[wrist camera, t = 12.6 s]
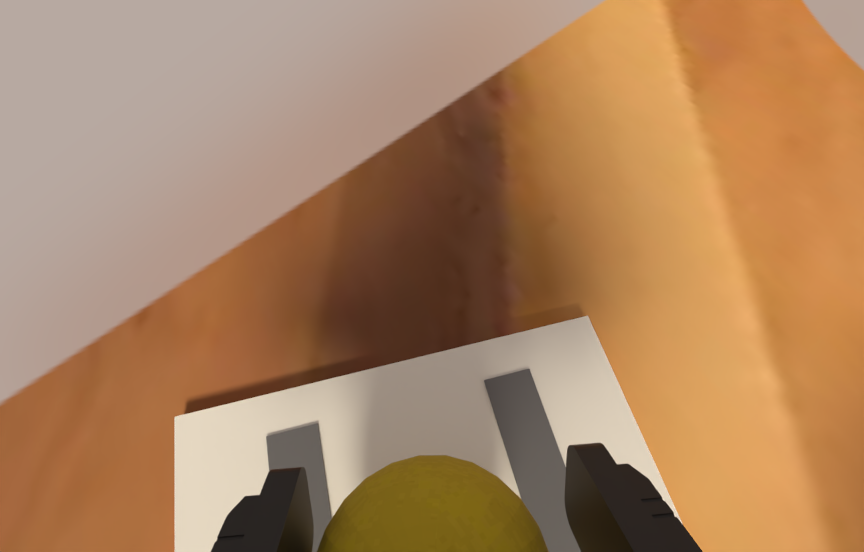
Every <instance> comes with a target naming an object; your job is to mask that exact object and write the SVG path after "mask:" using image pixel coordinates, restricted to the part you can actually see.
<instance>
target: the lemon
mask: <svg viewBox="0 0 864 552" xmlns="http://www.w3.org/2000/svg"><path fill="white" fill-rule="evenodd" d="M317 552H549V551H548V549H547V546H546V543H545V541H544V538H543V536H542V533H541V530H540V528H539V525H538V524H537V522H536V521H535V519H534V518H533V516H532V515H531V513H530V512H529V510H528V509H527V507H526V506H525V504H524V503H523V501H522V500H521V498H520V497H519V496H518V495H516V494H515V493H514V492H513V491H512V490H511V489H510V488H509V487H508V486H507V485H506V484H505V483H504V482H503V481H502V480H501V479H500V478H499V477H497V476H496V475H494V474H492V473H490V472H489V471H487V470H485V469H483V468H482V467H480V466H478V465H476V464H475V463H473V462H470V461H466V460H462V459H458V458H454V457H451V456H447V455H419V456H415V457H411V458H408V459H404V460H401V461H397V462H393V463H391V464H389V465H387V466H386V467H384V468H382V469H380V470H379V471H377V472H375V473H374V474H372V475H370V476H369V477H367V478H366V479H364V480H363V481H362V482H361V483H360V484H359V485H358V486H357V487H356V488H355V489H354V490H353V491H352V492H351V493H350V494H349V495H348V496H347V497H346V498H345V499H344V500H343V502H342V504H341V505H340V507H339V508H338V510H337V511H336V513H335V514H334V516H333V518H332V519H331V521H330V522H329V524H328V525H327V527H326V529H325V531H324V534H323V536H322V539H321V542H320V544H319V547H318V550H317Z"/></svg>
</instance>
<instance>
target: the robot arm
mask: <svg viewBox="0 0 864 552" xmlns="http://www.w3.org/2000/svg"><path fill="white" fill-rule="evenodd" d="M564 499H565V509H566V515H567V519H568V522H569V525H570V528H571V530H572V532H573V535H574V537H575V539H576V541H577V544H578V546H579V548H580V550H581V552H702V550H701V549H700V548H699V546H698V545H697V543H696V542H695V541H694V539H693V538H692V537H691V535H690V534H689V533H688V531H687V530H686V529H685V527H684V526H683V525H682V523H681V522H680V520H679V519H678V518H677V517H675V516H674V512H673V511H672V510H671V508H670V507H669V506H668V504H667V503H666V502H665V501H663V499H662V496H661V495H660V493H659V492H658V491H657V489H656V488H655V487H654V485H653V484H652V483H651V481H650V480H649V479H648V478H647V477H646V476H644V475H643V474H642V473H640V472H639V471H638V470H636V469H635V468H634V467H632V466H631V465H630V464H616V462H615V461H614V459H613V458H612V456H611V455H610V453H609V452H608V450H607V449H606V447H605V446H604V445H603V444H602V443H588V444H576V445H569V446H568V448H567V456H566V476H565V498H564ZM313 538H314V524H313V515H312V508H311V501H310V494H309V487H308V481H307V474H306V470H305V468H304V467H295V468H283V469H272V470H270V471H269V472H268V475H267V477H266V480H265V482H264V485H263V488H262V490H261V493H260V495H252V496H245V497H244V498H243V499H242V500H241V501H240V502H239V503H238V504H237V505H236V506H235V507H234V508H233V509H232V510H231V512H230V513H229V514H228V515H227V516H226V519H225V521H224V523H223V525H222V528H221V530H220V532H219V534H218V536H217V541H215V543H214V545H213V548H212V550H211V552H312V548H313Z"/></svg>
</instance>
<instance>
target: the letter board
mask: <svg viewBox="0 0 864 552" xmlns="http://www.w3.org/2000/svg"><path fill="white" fill-rule="evenodd" d="M588 443H602V444H603V445H604V446H605V447H606V449H607V450H608V452H609V453H610V455H611V456H612V458H613V459H614V461H615V462H616V464H630V465H631V466H632V467H634V468H635V469H636V470H638V471H639V472H640V473H642V474H643V475H644V476H646V477H647V478H648V479H649V480H650V481H651V483H652V484H653V485H654V487H655V488H656V489H657V491H658V492H659V493H660V495H661V496H662V499H663V501H665V502H666V503H667V504H668V506H669V507H670V508H671V510H672V511H673V512H674V516H675V517H677V518H678V519H679V520H680V522H681V519H680V517H679V515H678V513H677V511H676V508H675V506H674V504H673V502H672V500H671V497H670V495H669V493H668V491H667V489H666V486H665V484H664V482H663V480H662V478H661V475H660V473H659V471H658V469H657V467H656V464H655V462H654V460H653V458H652V456H651V453H650V451H649V449H648V447H647V445H646V442H645V440H644V438H643V436H642V434H641V431H640V429H639V427H638V425H637V423H636V420H635V418H634V416H633V414H632V412H631V409H630V407H629V405H628V403H627V401H626V398H625V396H624V394H623V392H622V390H621V387H620V385H619V383H618V381H617V379H616V376H615V374H614V372H613V370H612V368H611V365H610V363H609V361H608V359H607V357H606V354H605V352H604V350H603V348H602V346H601V343H600V341H599V339H598V337H597V335H596V332H595V330H594V328H593V326H592V324H591V321H590V319H589V317H588V316H584V317H580V318H576V319H572V320H568V321H564V322H560V323H556V324H551V325H547V326H543V327H539V328H535V329H531V330H527V331H523V332H519V333H515V334H511V335H507V336H502V337H498V338H494V339H490V340H486V341H482V342H478V343H474V344H470V345H466V346H462V347H458V348H454V349H449V350H445V351H441V352H437V353H433V354H429V355H425V356H421V357H417V358H413V359H409V360H405V361H400V362H396V363H392V364H388V365H384V366H380V367H376V368H372V369H368V370H364V371H360V372H356V373H351V374H347V375H343V376H339V377H335V378H331V379H327V380H323V381H319V382H315V383H311V384H307V385H303V386H298V387H294V388H290V389H286V390H282V391H278V392H274V393H270V394H266V395H262V396H258V397H254V398H249V399H245V400H241V401H237V402H233V403H229V404H225V405H221V406H217V407H213V408H209V409H205V410H200V411H196V412H192V413H188V414H184V415H180V416H176V417H175V552H211V550H212V548H213V545H214V543H215V541H217V536H218V534H219V532H220V530H221V528H222V525H223V523H224V521H225V519H226V516H227V515H228V514H229V513H230V512H231V510H232V509H233V508H234V507H235V506H236V505H237V504H238V503H239V502H240V501H241V500H242V499H243V498H244V497H245V496H252V495H260V493H261V490H262V488H263V485H264V482H265V480H266V477H267V475H268V472H269V471H270V470H272V469H283V468H295V467H304V468H305V470H306V474H307V481H308V487H309V494H310V501H311V508H312V515H313V524H314V538H313V548H312V552H317V550H318V547H319V544H320V542H321V539H322V536H323V534H324V531H325V529H326V527H327V525H328V524H329V522H330V521H331V519H332V518H333V516H334V514H335V513H336V511H337V510H338V508H339V507H340V505H341V504H342V502H343V500H344V499H345V498H346V497H347V496H348V495H349V494H350V493H351V492H352V491H353V490H354V489H355V488H356V487H357V486H358V485H359V484H360V483H361V482H362V481H363V480H364V479H366V478H367V477H369V476H370V475H372V474H374V473H375V472H377V471H379V470H380V469H382V468H384V467H386V466H387V465H389V464H391V463H393V462H397V461H401V460H404V459H408V458H411V457H415V456H419V455H447V456H451V457H454V458H458V459H462V460H466V461H470V462H473V463H475V464H476V465H478V466H480V467H482V468H483V469H485V470H487V471H489V472H490V473H492V474H494V475H496V476H497V477H499V478H500V479H501V480H502V481H503V482H504V483H505V484H506V485H507V486H508V487H509V488H510V489H511V490H512V491H513V492H514V493H515V494H516V495H518V496H519V497H520V498H521V500H522V501H523V503H524V504H525V506H526V507H527V509H528V510H529V512H530V513H531V515H532V516H533V518H534V519H535V521H536V522H537V524H538V525H539V528H540V530H541V533H542V536H543V538H544V541H545V543H546V546H547V549H548V551H549V552H581V550H580V548H579V546H578V544H577V541H576V539H575V537H574V535H573V532H572V530H571V528H570V525H569V522H568V519H567V515H566V509H565V499H564V498H565V476H566V456H567V448H568V446H569V445H576V444H588ZM681 523H682V522H681ZM682 525H683V524H682Z"/></svg>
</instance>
